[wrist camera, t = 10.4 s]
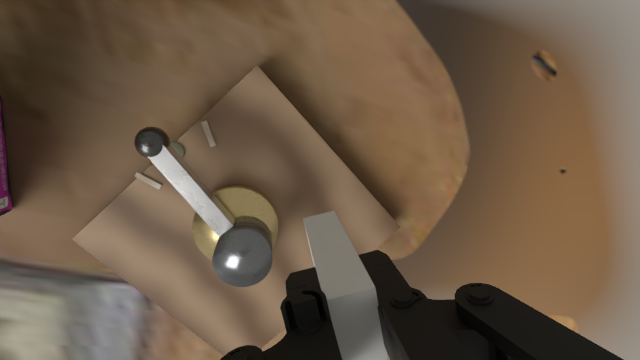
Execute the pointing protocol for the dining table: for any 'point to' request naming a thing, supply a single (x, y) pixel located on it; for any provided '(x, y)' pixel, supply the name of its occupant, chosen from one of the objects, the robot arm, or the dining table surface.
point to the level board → (221, 170)
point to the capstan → (219, 215)
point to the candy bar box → (4, 173)
